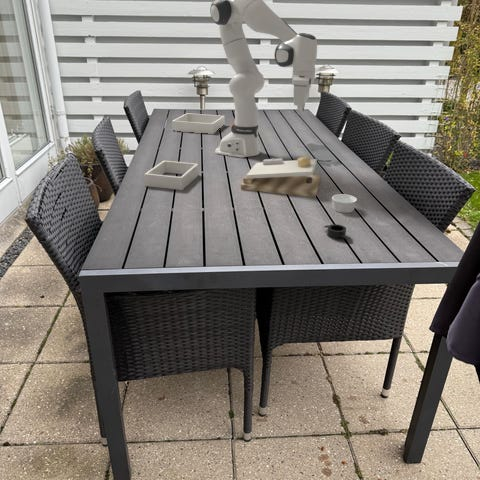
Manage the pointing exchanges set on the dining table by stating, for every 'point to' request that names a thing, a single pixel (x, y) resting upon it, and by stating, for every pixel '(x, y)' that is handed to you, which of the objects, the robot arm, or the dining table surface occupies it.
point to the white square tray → (198, 123)
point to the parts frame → (171, 182)
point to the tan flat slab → (284, 185)
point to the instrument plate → (282, 168)
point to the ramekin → (343, 203)
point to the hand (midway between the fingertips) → (300, 113)
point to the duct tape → (336, 231)
